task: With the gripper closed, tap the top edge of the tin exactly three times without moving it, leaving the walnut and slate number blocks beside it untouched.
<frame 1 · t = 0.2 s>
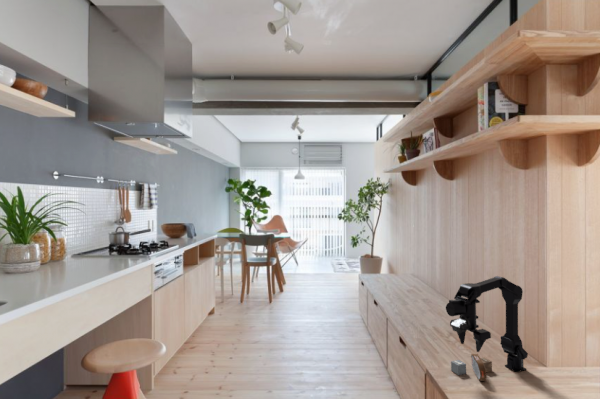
hand: (470, 347, 162), 13 cm above the bench, tool pointing down, fingers open, 9 cm apart
slate number block: (458, 372, 167), on the bench
tin: (478, 376, 163), on the bench
walnut number block: (484, 369, 169), on the bench
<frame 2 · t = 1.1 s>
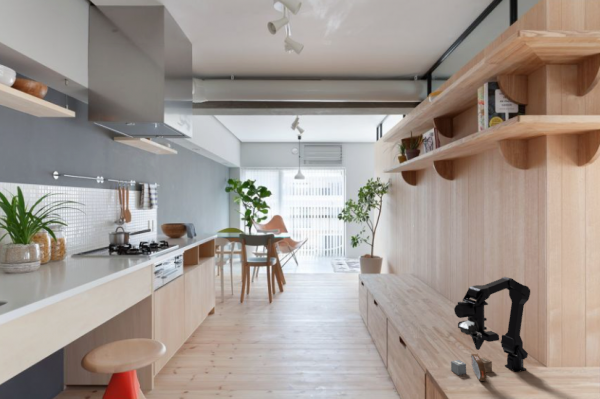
hand: (477, 349, 163), 12 cm above the bench, tool pointing down, fingers closed
nothing on the bench moved.
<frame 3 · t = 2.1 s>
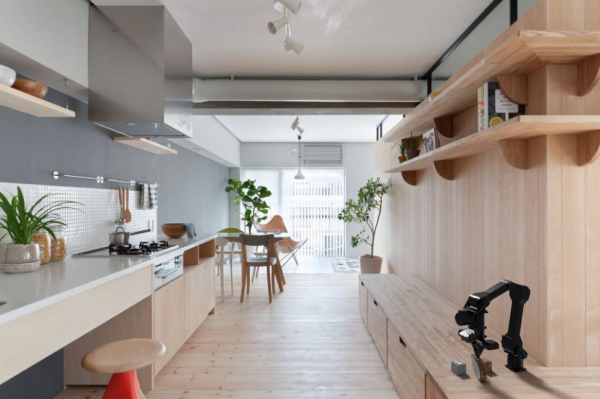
hand: (477, 357, 163), 8 cm above the bench, tool pointing down, fingers closed, pressing on tin
tin: (478, 376, 163), on the bench, touching gripper
everything else where it was.
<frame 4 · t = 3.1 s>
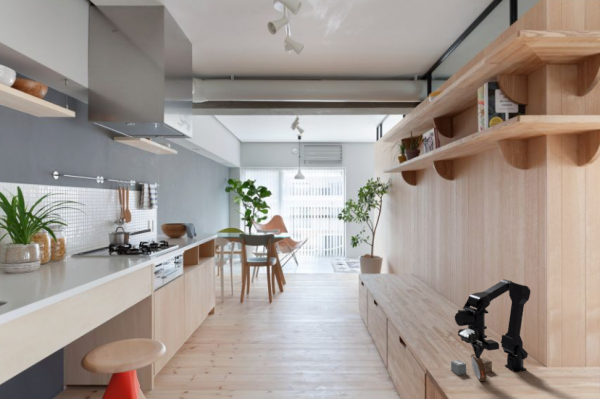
hand: (477, 357, 163), 8 cm above the bench, tool pointing down, fingers closed, pressing on tin
tin: (478, 376, 163), on the bench, touching gripper
everything else where it was.
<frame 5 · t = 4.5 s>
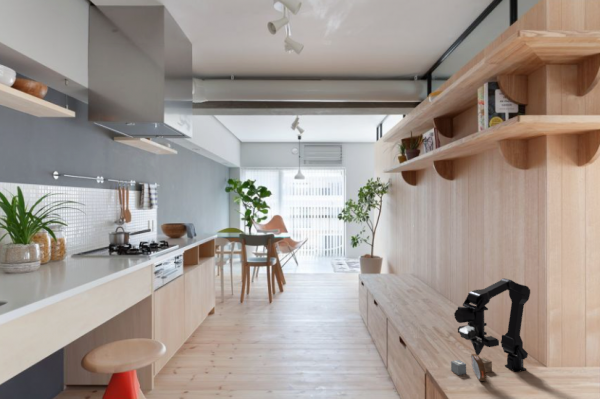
hand: (477, 354, 163), 10 cm above the bench, tool pointing down, fingers closed
tin: (478, 376, 163), on the bench
everything else where it was.
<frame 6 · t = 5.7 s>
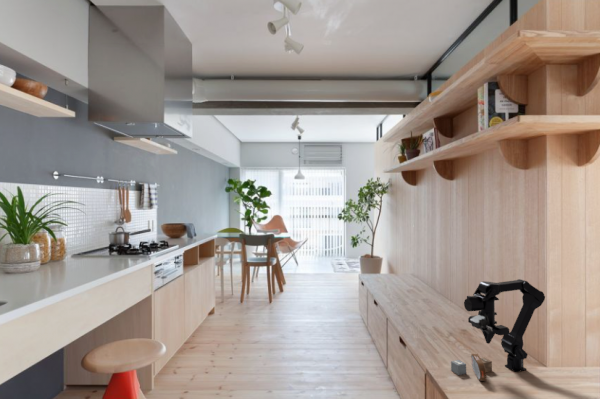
hand: (488, 343, 168), 13 cm above the bench, tool pointing down, fingers closed
nothing on the bench moved.
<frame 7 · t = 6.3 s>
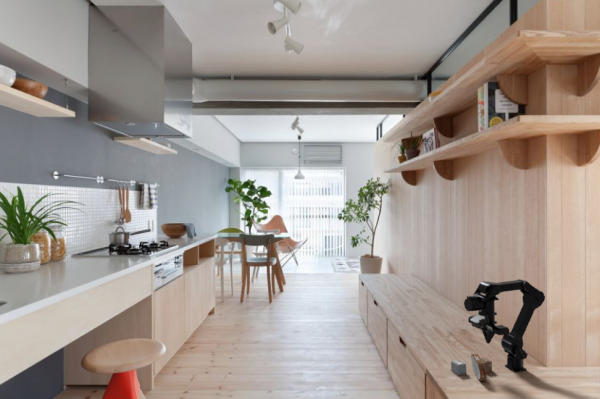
hand: (488, 343, 168), 13 cm above the bench, tool pointing down, fingers closed
nothing on the bench moved.
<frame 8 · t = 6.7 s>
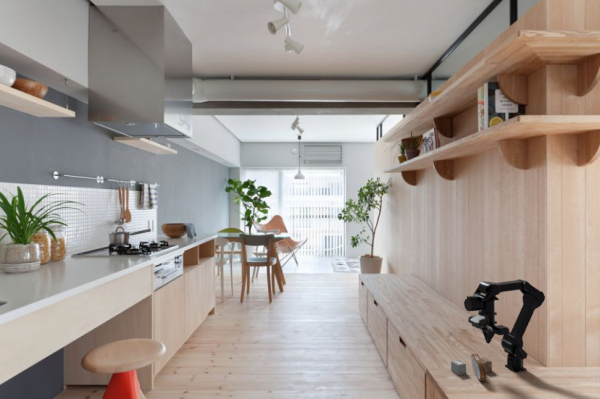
hand: (488, 343, 168), 13 cm above the bench, tool pointing down, fingers closed
nothing on the bench moved.
at the end: tin moved 0.3 cm from its start; tin tilted 0°; walnut number block moved 0.1 cm from its start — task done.
